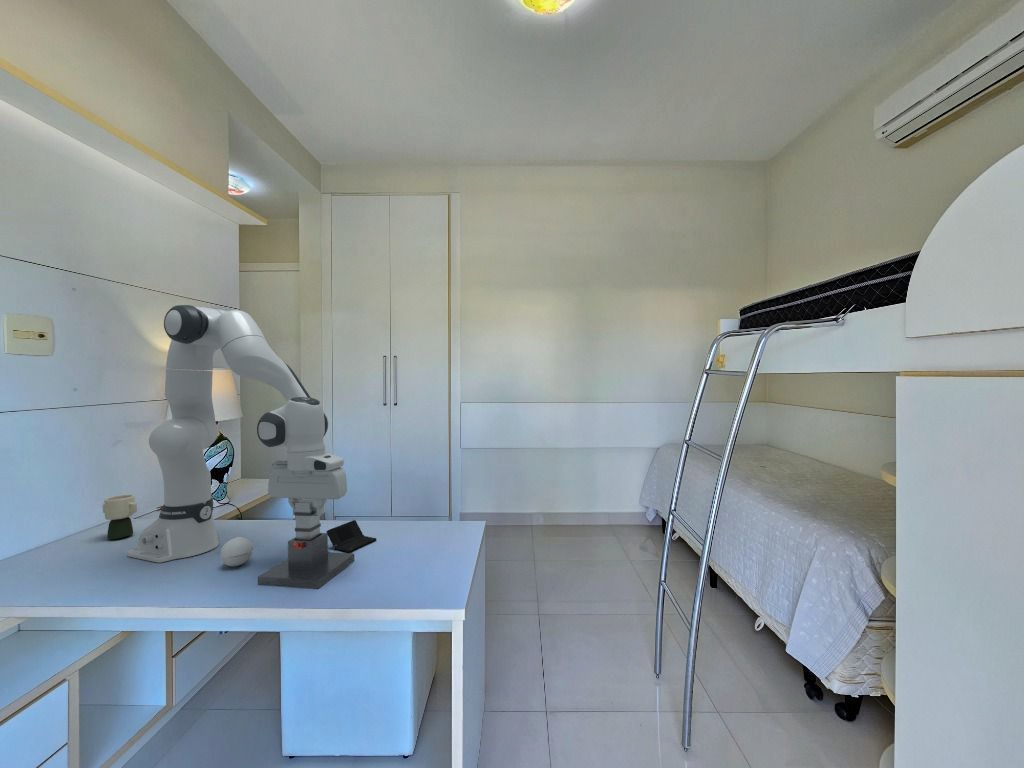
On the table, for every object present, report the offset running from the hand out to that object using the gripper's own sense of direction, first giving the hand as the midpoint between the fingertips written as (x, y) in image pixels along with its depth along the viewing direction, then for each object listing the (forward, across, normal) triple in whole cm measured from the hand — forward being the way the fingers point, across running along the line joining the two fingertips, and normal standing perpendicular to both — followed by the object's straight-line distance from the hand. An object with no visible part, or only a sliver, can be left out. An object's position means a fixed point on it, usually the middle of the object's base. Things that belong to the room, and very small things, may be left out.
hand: (307, 515), depth 111 cm
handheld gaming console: (+15, +1, +19) cm, 24 cm away
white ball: (+15, -21, +2) cm, 26 cm away
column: (+12, 0, 0) cm, 12 cm away
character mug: (+15, -77, +15) cm, 80 cm away
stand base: (+15, 0, 0) cm, 15 cm away
